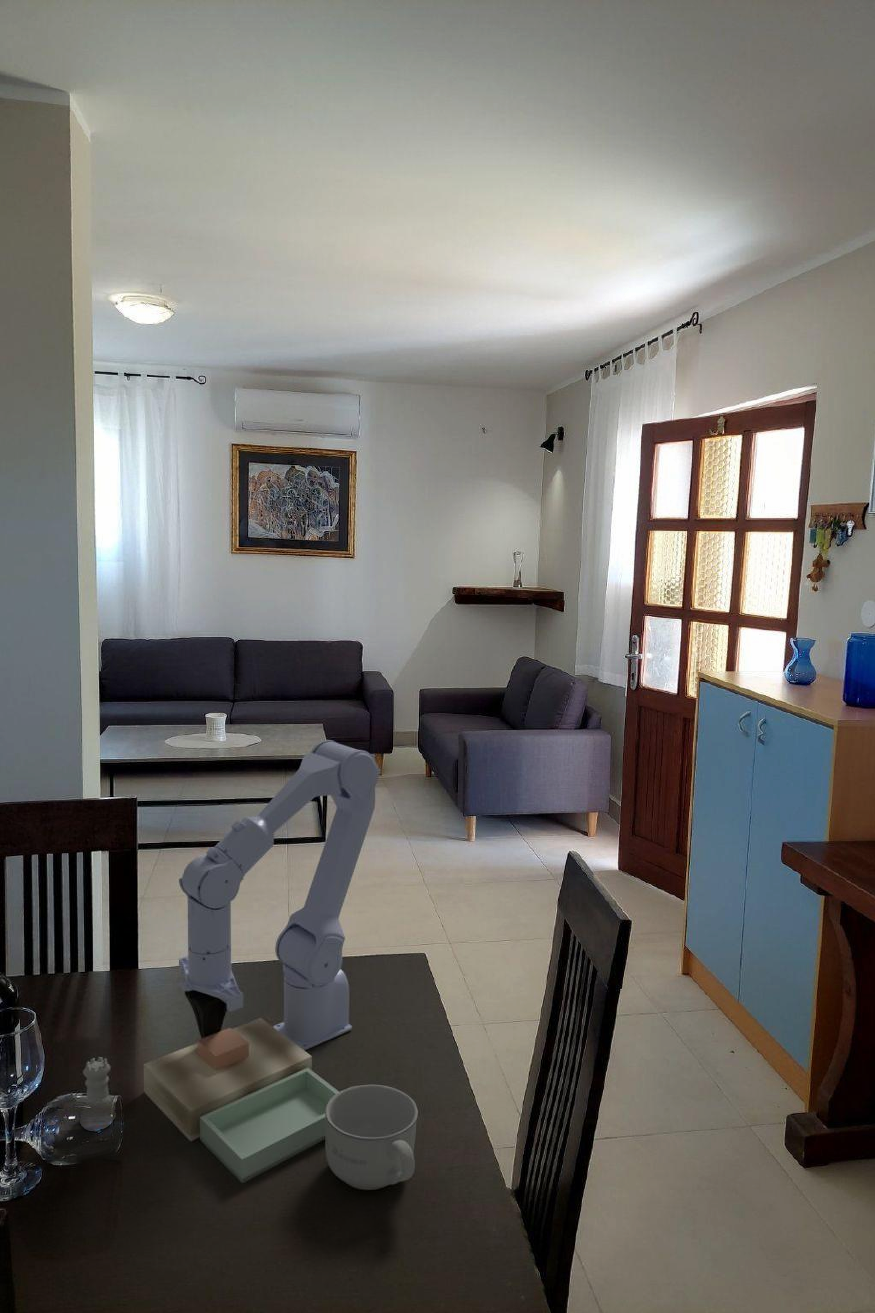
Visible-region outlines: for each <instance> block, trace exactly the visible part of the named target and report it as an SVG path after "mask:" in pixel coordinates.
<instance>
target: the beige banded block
mask: <svg viewBox="0 0 875 1313" xmlns="http://www.w3.org/2000/svg"><path fill="white" fill-rule="evenodd" d="M232 1029H233V1030H234V1031H235V1032H236V1033H237V1034H239V1035H240V1036H241V1037H242V1038H244V1039H245V1040H246V1041H247V1042H249V1057H247V1058H244V1059H242V1060H240V1061H237V1062H235V1063H233V1064H230V1065H228V1066H226V1067H223V1068H221V1069H218V1070H214V1069H213V1068H212V1067H211V1066H210V1065H209V1064H208V1063H207V1062H206V1061H204V1060H203V1059H202V1058H201V1057H200V1056H199V1055H198V1054H197V1042H196V1043H194V1044H191V1045H189V1046H185V1047H184V1048H181V1049H179V1050H176V1051H173V1052H171V1053H168V1054H166V1055H164V1056H161V1057H158V1058H156V1059H153V1060H150V1061H149V1062H145V1063H144V1064H143V1093H144V1094H145V1095H146V1096H147V1097H148V1098H149V1099H150V1101H152V1102H153V1104H154V1105H156V1106H157V1107H158V1109H159V1110H161V1112H162V1113H163V1114H164V1115H165V1116H166V1117H167V1118H168V1119H169V1120H170V1121H171V1122H172V1123H173V1124H174V1126H176V1127H177V1128H178V1130H179V1131H180V1132H181V1133H182V1135H184V1136H185V1137H186V1138H187V1139H188V1140H189V1142H193V1141H194V1140H197V1139H198V1138H199V1139H200V1117H201V1116H204V1115H206V1114H208V1113H210V1112H212V1111H214V1110H217V1109H219V1108H221V1107H223V1106H225V1105H228V1104H230V1103H232V1102H234V1101H236V1100H238V1099H241V1098H243V1097H245V1096H247V1095H249V1094H251V1093H254V1092H256V1091H258V1090H260V1089H262V1088H265V1087H267V1086H269V1085H271V1084H273V1083H275V1082H278V1081H280V1080H282V1079H284V1078H286V1077H289V1076H291V1075H293V1074H295V1073H297V1072H299V1071H302V1070H304V1069H306V1068H309V1069H310V1070H312V1071H313V1056H312V1055H311V1054H309V1052H307V1050H303V1049H302V1048H300V1047H299V1046H298V1045H296V1044H295V1043H294V1042H292V1041H291V1040H290V1039H288V1038H287V1037H286V1036H284V1035H283V1034H282V1033H280V1032H279V1031H278V1030H276V1029H275V1028H274V1027H273V1026H272V1025H271V1023H268V1022H267V1021H266V1020H264V1019H263V1018H262V1017H259V1018H256V1019H254V1020H252V1021H249V1022H247V1023H244V1024H241V1025H239V1026H237V1027H234V1028H232Z"/></svg>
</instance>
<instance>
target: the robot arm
mask: <svg viewBox="0 0 875 1313" xmlns="http://www.w3.org/2000/svg"><path fill="white" fill-rule="evenodd" d="M380 773H381V770H380V767H379V766H378V764H377V762H376V760H375V758H374V757H373V755H372V754H371V753H369V751H366V750H362V749H356V748H355V747H354V748H353V747H350V746H347V745H344V744H341V743H338V742H337V741H335V740H331V739H324V740H322V741H320V742H318V743H316V744H315V745H314V746H313V748H312V749H311V751H310V752H308V753H307V754H305V755H303V757H302V760H301V762H300V765H299V768H298V770H297V771H296V772H295V773H294V774H293V775H292V776H291V777H290V779H288V781H287V782H286V783H285V784H284V785H283V787H281V789H280V790H279V791H278V792H277V793H276V794H275V796H274V797H273V798H272V799H271V800H270V801H269V802H268V803H267V804H266V805H265V806H264V808H263V809H262V810H261V811H260V812H259V813H258V815H257V816H245V817H242V819H241V820H236V821H235V822H233V824H232V825H231V828H232V829H231V830H230V831H229V832H228V833H227V834H226V835H225V836H224V837H223V838H222V839H220V841H219V842H217V844H216V845H215V846H213V847H210V848H209V849H208V850H207V851H206V855H201V856H200V857H196V858H194V859H193V860H191V861H190V862H189V863H188V864H187V866H186V867H185V868H184V872H183V873H182V877H180V878H179V879H178V883H179V887H180V890H182V892H183V893H184V894H185V895H186V897H187V956H184V957H181V958H179V959H178V971H179V973H180V974H184V977H185V978H184V980H182V981H181V982H180V988H181V989H182V990H183V991H184V996H185V997H186V999H187V1001H188V1002H189V1005H190V1006H191V1008H192V1011H193V1014H194V1017H195V1020H196V1024H197V1029H198V1032H199V1035H200V1039H202V1038H205V1037H207V1036H210V1035H212V1034H215V1033H218V1032H220V1031H222V1028H223V1024H224V1019H225V1017H226V1014H227V1011H228V1012H230V1013H231V1012H233V1011H236V1010H239V1009H241V1008H244V993H243V992H242V991H241V989H239V986H238V983H237V982H236V978H235V976H234V973H233V971H232V908H231V907H232V901H234V900H235V899H236V898H237V895H238V893H239V890H240V887H241V883H242V881H243V880H245V878H244V877H245V876H246V874H247V873H248V872H249V871H250V870H251V869H252V868H253V867H254V866H255V865H256V864H257V863H258V862H259V861H260V860H262V858H263V857H264V856H265V855H266V854H267V853H268V852H269V851H270V850H271V848H273V847H274V840H275V833H276V832H277V831H279V829H280V828H282V827H283V826H284V825H285V824H286V823H287V822H289V820H291V819H292V818H293V817H294V816H295V815H297V813H299V812H300V811H301V810H302V809H303V808H305V806H306V805H307V804H309V803H310V802H311V801H312V800H313V799H314V798H316V797H323V796H324V797H325V796H330V797H331V798H332V801H333V803H334V804H335V806H336V809H335V813H334V816H333V819H332V821H331V825H330V827H329V831H328V834H327V836H326V840H325V843H324V845H323V849H322V851H321V855H320V857H319V861H318V863H317V867H316V869H315V873H314V875H313V879H312V882H311V884H310V888H309V890H308V894H307V896H306V899H305V902H304V904H303V907H301V908H300V909H298V910H296V911H295V912H293V913H292V914H291V915H289V919H288V922H287V924H286V926H285V927H284V928H283V930H282V931H281V932H280V933H279V935H278V937H277V939H276V941H275V946H274V950H275V955H276V958H277V959H278V961H280V963H282V971H283V1021H282V1022H280V1023H278V1024H274V1025H273V1026H272V1027H274V1028H275V1029H276V1030H278V1031H279V1032H280V1033H282V1034H283V1035H284V1036H286V1037H287V1038H288V1039H290V1040H291V1041H292V1042H294V1043H295V1044H296V1045H298V1046H299V1047H300V1048H302V1049H303V1050H304V1051H307V1050H309V1049H311V1048H313V1047H315V1046H318V1045H320V1044H322V1043H325V1042H327V1041H330V1040H331V1039H333V1038H336V1037H338V1036H340V1035H342V1034H345V1033H347V1032H349V1031H351V1030H352V1029H353V1026H352V1025H351V1024H350V1022H349V1021H350V1020H349V1019H350V1014H349V1013H350V985H349V981H348V978H347V975H346V974H345V972H344V971H343V970H342V969H341V968H342V964H343V958H344V957H343V946H344V944H345V943H344V942H345V940H346V937H345V933H344V931H343V928H342V926H341V922H340V920H339V919H340V918H339V917H340V914H341V911H342V908H343V906H344V902H345V900H346V896H347V893H348V890H349V887H350V884H351V881H352V877H353V875H354V872H355V869H356V866H357V863H358V860H359V856H360V854H361V850H362V847H363V845H364V841H365V838H366V836H367V832H368V830H369V828H370V827H369V826H370V823H371V822H372V817H373V813H374V811H375V808H376V786H377V784H378V779H379V777H380Z"/></svg>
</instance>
